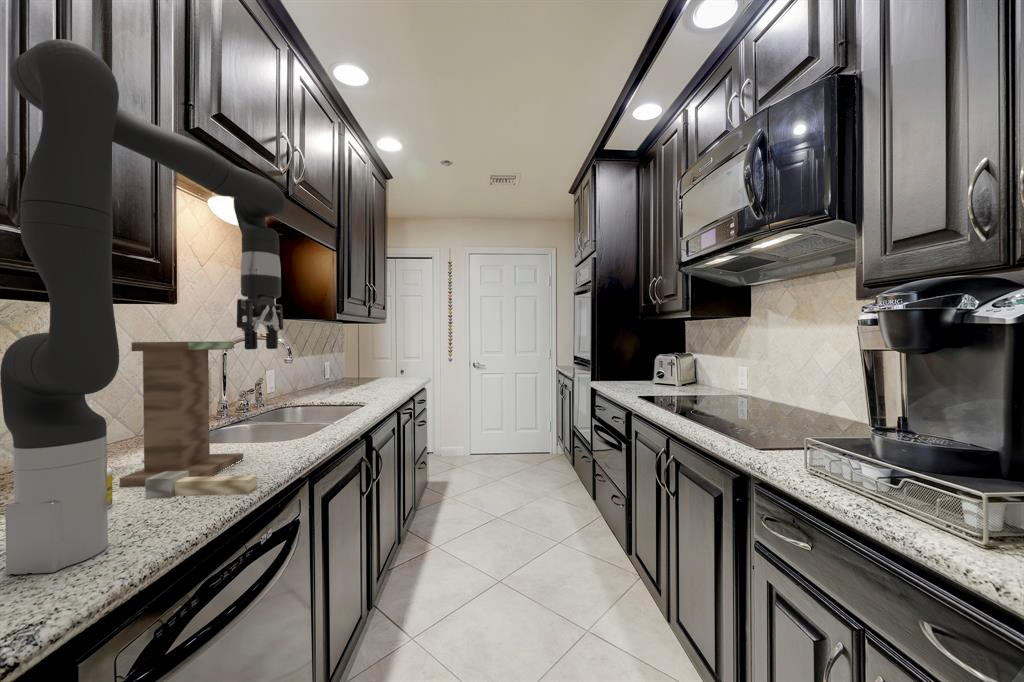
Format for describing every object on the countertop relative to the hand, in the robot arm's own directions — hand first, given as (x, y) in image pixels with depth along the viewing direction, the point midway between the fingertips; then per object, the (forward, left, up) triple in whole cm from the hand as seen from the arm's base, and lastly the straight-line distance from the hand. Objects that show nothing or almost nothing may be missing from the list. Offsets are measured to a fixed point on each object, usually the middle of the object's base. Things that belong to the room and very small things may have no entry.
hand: (262, 349), depth 89 cm
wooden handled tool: (-3, +10, -30) cm, 32 cm away
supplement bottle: (-10, +26, -30) cm, 41 cm away
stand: (+12, +24, -30) cm, 40 cm away
